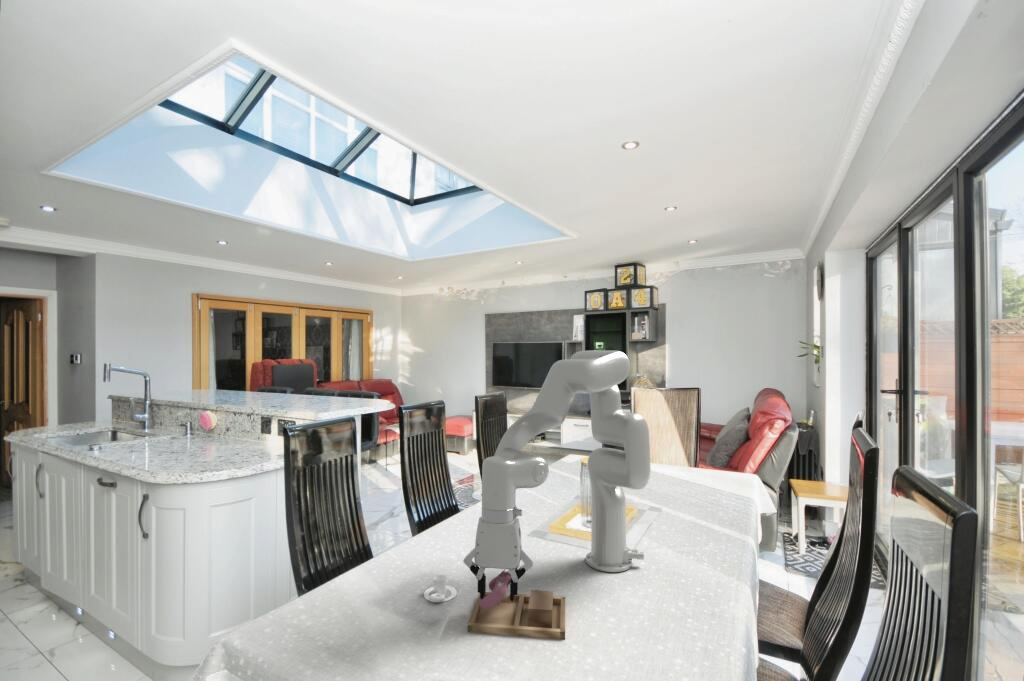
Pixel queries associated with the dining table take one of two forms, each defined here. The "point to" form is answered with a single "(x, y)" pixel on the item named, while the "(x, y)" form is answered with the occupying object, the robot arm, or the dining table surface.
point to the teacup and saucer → (439, 590)
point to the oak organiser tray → (516, 618)
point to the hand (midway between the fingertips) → (497, 596)
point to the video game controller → (496, 590)
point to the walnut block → (540, 609)
